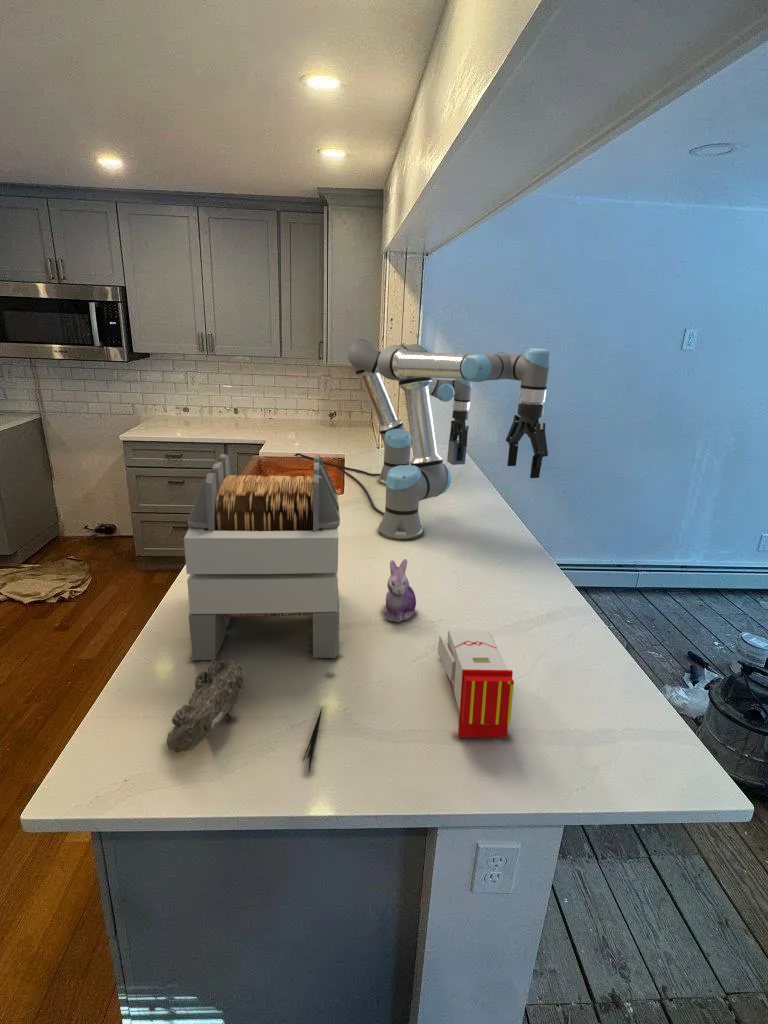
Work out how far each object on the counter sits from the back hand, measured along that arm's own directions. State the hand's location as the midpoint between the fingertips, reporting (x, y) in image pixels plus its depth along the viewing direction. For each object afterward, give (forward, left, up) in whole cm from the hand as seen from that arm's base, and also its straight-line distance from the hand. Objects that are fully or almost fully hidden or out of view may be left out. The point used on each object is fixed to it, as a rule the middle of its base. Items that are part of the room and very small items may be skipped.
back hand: (456, 458), depth 270 cm
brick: (0, 0, -2) cm, 2 cm away
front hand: (+50, -78, +20) cm, 95 cm away
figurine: (+36, -131, -9) cm, 136 cm away
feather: (+41, -175, -9) cm, 180 cm away
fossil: (+23, -185, -9) cm, 186 cm away
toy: (+63, -152, -9) cm, 164 cm away
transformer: (+10, -151, -9) cm, 152 cm away
